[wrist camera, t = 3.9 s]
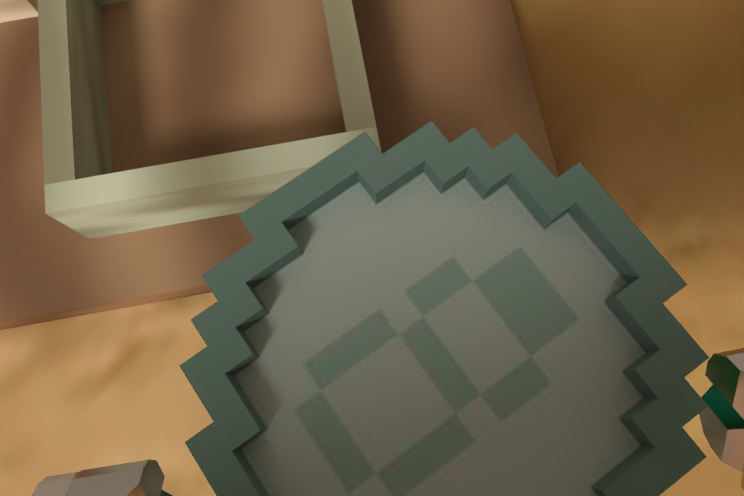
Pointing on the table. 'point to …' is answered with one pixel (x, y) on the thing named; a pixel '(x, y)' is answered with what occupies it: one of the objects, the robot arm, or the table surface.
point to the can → (443, 334)
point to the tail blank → (17, 9)
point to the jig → (216, 126)
